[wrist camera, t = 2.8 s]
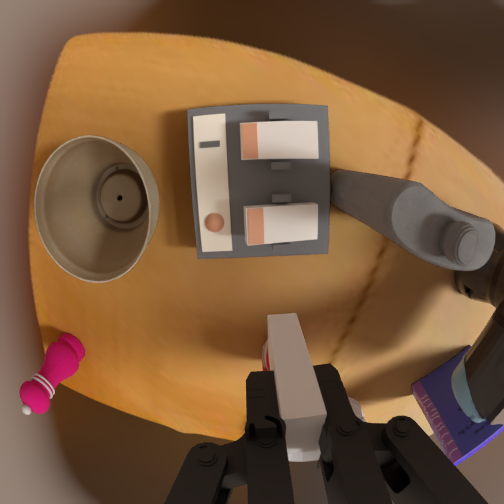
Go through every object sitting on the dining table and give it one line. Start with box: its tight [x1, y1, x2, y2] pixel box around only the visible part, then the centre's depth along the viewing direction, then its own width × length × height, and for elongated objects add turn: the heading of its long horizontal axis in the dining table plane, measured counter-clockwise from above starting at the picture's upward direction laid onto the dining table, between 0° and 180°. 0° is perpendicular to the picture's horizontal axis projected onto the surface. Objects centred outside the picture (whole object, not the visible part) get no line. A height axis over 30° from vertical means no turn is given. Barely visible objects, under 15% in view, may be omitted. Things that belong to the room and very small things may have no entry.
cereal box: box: [412, 345, 504, 466], centre depth 36 cm, size 17×5×24 cm, turn 119°
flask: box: [330, 169, 495, 271], centre depth 25 cm, size 15×6×20 cm, turn 76°
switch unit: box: [187, 104, 330, 259], centre depth 31 cm, size 16×18×6 cm
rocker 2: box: [243, 202, 318, 246], centre depth 30 cm, size 8×4×2 cm, turn 92°
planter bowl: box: [34, 135, 159, 283], centre depth 29 cm, size 16×16×11 cm
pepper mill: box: [20, 333, 85, 415], centre depth 34 cm, size 7×7×20 cm
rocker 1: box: [240, 121, 319, 160], centre depth 27 cm, size 8×4×2 cm, turn 92°
